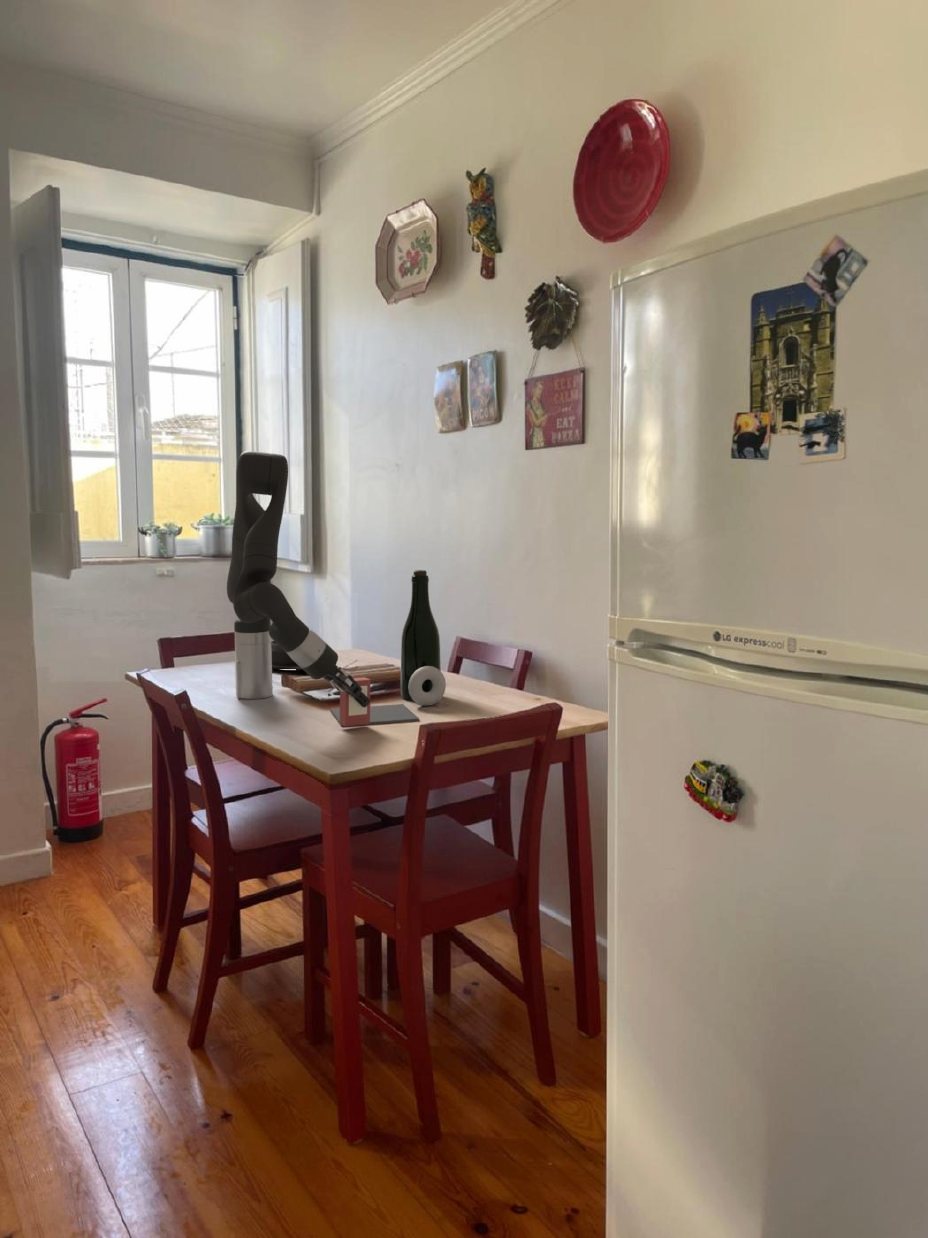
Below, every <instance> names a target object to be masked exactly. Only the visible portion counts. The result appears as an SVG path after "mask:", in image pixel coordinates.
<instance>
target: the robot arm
mask: <svg viewBox="0 0 928 1238" xmlns="http://www.w3.org/2000/svg"><path fill="white" fill-rule="evenodd" d="M288 463H289V461H288V459H287V457H286V456H284V455H282V454H277V453H271V452H263V451H256V450H253V451H252V450H247V451H246V450H245V451H243V452H241V454H240V455H239V457H238V459H237V464H236V470H235V512H234V518H233V523H232V524H233V527H232V534H231V535H232V536H231V538H232V539H231V558H230V564H229V569H228V575H227V580H226V594H227V598H228V601H229V602H230V603H231V604H232V606H233V610H234V614H235V615H236V617H237V619H236V620H235V621H234V623H233V627H234V631H233V632H234V654H235V655H234V656H235V658H234V670H235V671H234V673H235V675H234V676H235V696H236V699H237V698H245V699H244V700H257V699H265V698H269V697H272V696H273V694H274V692H273V691H274V690H273V685H274V684H273V667H272V650H271V641H275V642H276V643H277V644H278V645H279V646H280V647H281V648H282V649H283V650H284V651H285V652H286V653H287V654H288V655H289V656H290V658H291V659H292V660H293V661H294V662H295V663H296V664H298V665H299V666H300V667H301V668H302V669H303V670H304V672H305V673H306V674H307V675H308V676H309V677H310V678H311V679H312V680H320V679H323V680H324V681H325V682H326V683H328V684H330V685H331V686H332V687H333V688H334V689H336V691H338V692H340V690H341V691H342V692H347V693H348V694H349V695H350V697H352V698H354V699H355V700H356V701H357V702H358V703H359V704H360V705H361V706H362V707H366V706H367V705H368V704H369V703H370V704H371V698H370V699H369V698H368V697H367V696H366V695H365V694H364V693H362V692H361V690H362V688H361V687H360V686H359V685H358V683H357V682H356V681H355V680H354V679H353V678H354V677H353V676H352V675H350V674H347V672H346V669H344V668H343V667H341V666H338V665H337V664H338V660H339V654H338V653H337V652H336V651H335V650H334V649H333V648H332V647H331V646H330V645H329V644H328V643H327V642H326V641H324V639H323V638H321V637H320V636H319V635H318V634H317V633H316V632H315V631H314V630H312V629H311V628H310V627H309V626H307V625H306V624H305V623H304V622H303V621H302V619H300V618H299V617H298V616H297V615H296V613H295V612H294V610H293V608H292V607H291V604H290V603H289V601H288V600H287V597H286V596H285V594H284V593H283V592H282V590H281V589H280V588H279V587H278V586H277V585H275V584H273V583H272V581H271V580H272V579H273V578H274V576H275V575H276V573H277V568H278V565H277V564H278V551H279V549H278V547H279V546H278V545H279V536H280V530H281V526H282V519H283V515H284V510H285V509H284V508H285V503H286V496H287V489H288V482H289V464H288ZM254 495H263V496H270V500H269V501H270V502H269V503H268V506H267V507H266V508H265V509H264V507H263V506H262V505H261V504H260V503H259V502H258V501H257V499H256V498H255V496H254ZM343 686H344V688H342V687H343Z"/></svg>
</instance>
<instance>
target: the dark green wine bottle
mask: <svg viewBox="0 0 928 1238" xmlns="http://www.w3.org/2000/svg"><path fill="white" fill-rule="evenodd" d="M427 574H428V572H427V570H426V569H425V570H423V569H417V570H414V571H413V575H411V602H410V607H409V611H408V614H407V618H406V620H405V623H404V626H403V629H402V633H401V641H400V643H401V644H400V695H401V697H402V698H403V699H405V700H408V701H414V700H413V699H412V698H411V696H410V694H409V689H408V686H409V680H410V678H411V676H412V674H413V673H414V672H415V671H416V670H418V669H419V668H421V667H424V666H433V667H435V668H437V669H439V670H440V671H441V672H442V665H441V664H442V663H441V662H442V660H441V659H442V658H441V657H442V656H441V638H440V636H441V635H440V633H439V628H438V625H437V623H436V620H435V617H434V614H433V612H432V608H431V604H430V603H431V601H430V594H429V581H430V578H429V575H427ZM432 687H433V683H432V681H431V680H429V679H427V680H425V681H424V682H423V684H422V690H423V691H424V692H426V693H427V692H429V691H430V690H431V689H432Z"/></svg>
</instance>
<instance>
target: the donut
mask: <svg viewBox="0 0 928 1238" xmlns="http://www.w3.org/2000/svg"><path fill="white" fill-rule="evenodd" d="M427 679H429V680H431V681H432V683H433V687H432V689H431V690H430V691H429V692H427V693H426V692H424V691H423V690H422V684H423V682H424V681H425V680H427ZM446 687H447V683H446V678H445V675H444V673H443V672H442V670H441V671H440V670H439V669H437V668H435V667H433V666H424V667H421V668H419V669H418V670H416V671H415V672H414V673H413V674H412V676H411V678H410V680H409V686H408V689H409V694H410V696H411V698H412V699H413V700H412V701H414V702H415V703H416V704H418V705H419V706H422V707H426V706H427V707H428V706H433V705H435V704H437V703H438V702H440V701H441V699H442V698H443V696H444V694H445V691H446Z"/></svg>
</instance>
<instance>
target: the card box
mask: <svg viewBox="0 0 928 1238" xmlns="http://www.w3.org/2000/svg"><path fill="white" fill-rule="evenodd" d="M352 678H353V679H354V680H355V681H356V682H357V683H358V685H359V686H360V687H361V688H362V690H361V692H362V693H364V694H365V695H366V696H367V697H368V698H369V699H370V700H371V683H372V682H371V680H372V679H370V678H367V677H364V676H363V677H352ZM342 688H344V686H343V687H342ZM370 706H371V702H370V703H369V704H368V705H367V706H366V707H362V706H361V705H360V704H359V703H358V702H357V701H356V700H355V699H354V698H352V697H350V695H349V694H348V693H347V692H342V691H341V690H340V691H339V708H340V724H342V725H343V726H346V727H355V726H354V725H359V726H364V725H363V724H370ZM340 724H339V725H340Z"/></svg>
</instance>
